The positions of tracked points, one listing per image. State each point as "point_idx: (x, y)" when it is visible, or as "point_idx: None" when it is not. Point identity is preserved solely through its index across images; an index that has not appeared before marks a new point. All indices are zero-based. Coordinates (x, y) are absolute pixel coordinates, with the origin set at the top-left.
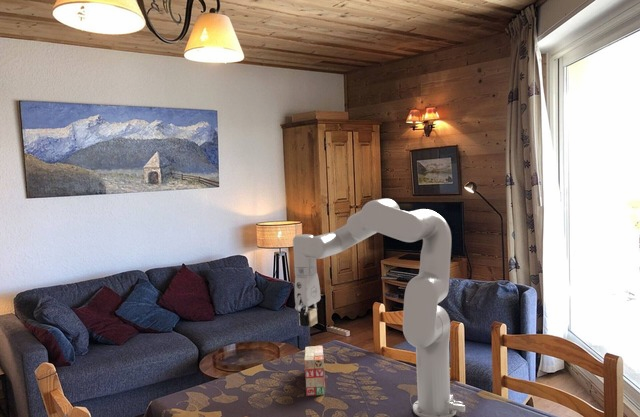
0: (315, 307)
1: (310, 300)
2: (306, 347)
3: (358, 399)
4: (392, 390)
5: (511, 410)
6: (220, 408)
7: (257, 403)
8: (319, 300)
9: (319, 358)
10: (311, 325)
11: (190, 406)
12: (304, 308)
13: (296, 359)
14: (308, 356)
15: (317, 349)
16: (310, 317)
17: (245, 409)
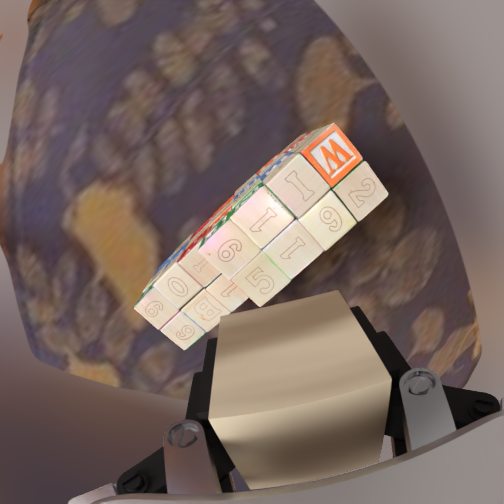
0: (194, 445)
1: (489, 497)
2: (260, 300)
3: (263, 38)
4: (157, 9)
5: None
6: (462, 300)
7: (426, 258)
8: (125, 497)
9: (337, 146)
10: (329, 296)
11: (466, 345)
12: (277, 483)
13: (163, 374)
14: (346, 210)
15: (249, 238)
16: (365, 338)
17: (453, 256)
